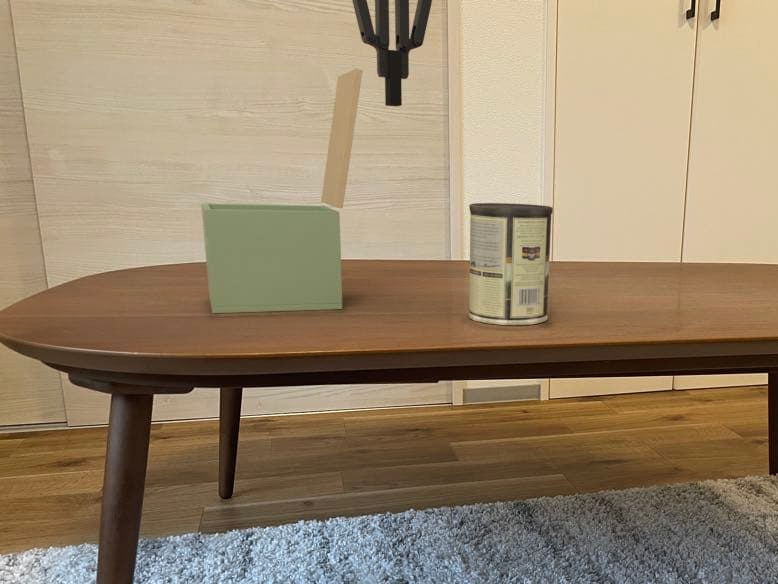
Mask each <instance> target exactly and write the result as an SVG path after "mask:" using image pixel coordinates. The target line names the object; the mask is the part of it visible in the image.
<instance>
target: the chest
mask: <svg viewBox="0 0 778 584" xmlns="http://www.w3.org/2000/svg"><path fill="white" fill-rule="evenodd" d="M201 215H202V226H203V239H204V252H205V263H206V275H207V276H206V277H207V288H208V298H209V303H210V307H211V310H212V311H211V312H212V314H236V313H237V314H238V313H266V312H267V313H269V312H295V311H296V312H299V311H326V310H327V311H328V310H329V311H330V310H343V284H342V283H343V282H342V280H343V279H342V250H341V249H342V248H341V219H340V218H341V217H340V215H341V214H340V211H339V210H338V211H337V210H335V209H332V208H330V207H328V206H325V205H304V204H303V205H302V204H300V205H299V204H295V205H294V204H253V203H252V204H249V203H248V204H247V203H245V204H244V203H202V202H201Z"/></svg>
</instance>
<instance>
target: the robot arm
mask: <svg viewBox="0 0 778 584" xmlns="http://www.w3.org/2000/svg"><path fill="white" fill-rule="evenodd" d="M351 2H352V5H353V6H352V7H353V10H354V13H355V18H356V23H357V25H358V29H359V34H360V38H361V41H362V43H363V44H365V45H369V46H371V47H373V48H374V49H375V51H376V73H377V74H376V75H377V76H378V78H383V79H384V94H385V95H384V96H385V98H384V99H385V100H384V101H385V104H384V105H385V106H386V107H401V106H403V105H402V104H403V103H402V102H403V101H402V100H403V97H402V94H403V93H402V80H407V79H408V77H409V75H410V65H409V64H410V63H409V61H410V60H409V59H410V57H409V54H410V52H411V50H414V49H417V48H420V47H422V46H423V44H424V41H425V36H426V31H427V26H428V22H429V17H430V14H431V13H430V12H431V8H432V3H433V0H417V3H416V7H415V13H414V17H413V23H412V27H411V32H410V0H394V26H395V27H394V28H395V29H394V30H395V31H394V33H395V35H394V36H395V50H394V49H389V47H390V0H374V26H373V22H372V17H371V13H370V7H369V5H368V0H351ZM374 27H375V30H374Z"/></svg>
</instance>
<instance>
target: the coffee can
mask: <svg viewBox="0 0 778 584" xmlns="http://www.w3.org/2000/svg"><path fill="white" fill-rule="evenodd" d="M468 207H469V213H470V216H469V217H470V222H469V223H470V224H469V225H470V226H469V309H468V310H469V311H468V312H469V313H468V318H469V320H472V321H475V322H479V323H482V324H489V325H497V326H498V325H499V326H528V325H529V326H530V325H538V324H542V323H545V322H547V321H548V318H549V317H548V302H549V279H550V258H551V257H550V254H551V236H552V235H551V234H552V233H551V232H552V214H553V212H554V208H553V207H552V206H551V205H541V204H529V203H506V202H505V203H503V202H501V203H500V202H497V203H496V202H477V203H470V204H469V206H468Z"/></svg>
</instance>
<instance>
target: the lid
mask: <svg viewBox="0 0 778 584" xmlns="http://www.w3.org/2000/svg"><path fill="white" fill-rule="evenodd" d="M362 77H363V70H362V69H359V68H353V69H352V70H350V71H347V72H345V73H342V74H340V75H338V76H337V83H336V90H335V97H334V103H333V110H332V111H333V112H332V119H331V126H330V133H329V134H330V135H329V141H328V149H327V155H326V163H325V168H324V169H325V171H324V177H323V183H322V184H323V185H322V192H321V200H320V202H321V203H323V204H325V205H326V204H327V205H328V206H331V207H334V208H336V209H337V208H338V209H344V202H345V196H346V195H345V194H346V188H347V181H348V175H349V166H350V161H351V160H350V159H351V155H352V154H351V153H352V146H353V139H354V134H355V133H354V132H355V126H356V119H357V111H358V104H359V98H360V90H361V83H362Z"/></svg>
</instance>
